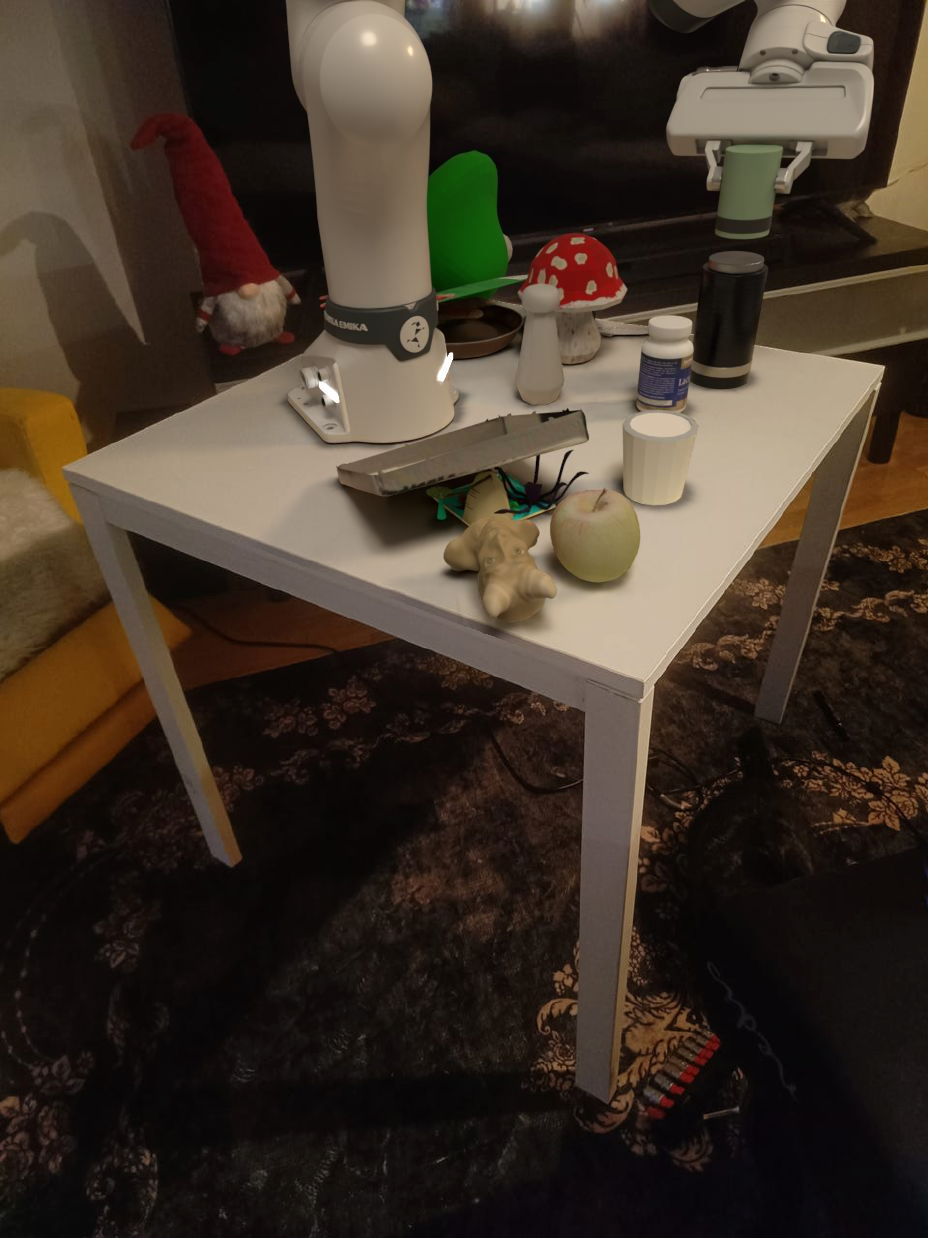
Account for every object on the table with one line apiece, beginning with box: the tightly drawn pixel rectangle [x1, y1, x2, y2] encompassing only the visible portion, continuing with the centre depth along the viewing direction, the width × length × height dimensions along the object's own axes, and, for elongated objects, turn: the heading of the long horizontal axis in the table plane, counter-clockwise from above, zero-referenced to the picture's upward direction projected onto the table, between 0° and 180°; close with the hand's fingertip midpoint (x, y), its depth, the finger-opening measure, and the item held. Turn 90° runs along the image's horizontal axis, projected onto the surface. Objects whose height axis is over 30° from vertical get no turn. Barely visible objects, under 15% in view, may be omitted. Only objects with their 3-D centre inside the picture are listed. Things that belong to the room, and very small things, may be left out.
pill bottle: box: [635, 314, 693, 414], centre depth 90 cm, size 6×6×10 cm
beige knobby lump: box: [442, 516, 558, 623], centre depth 63 cm, size 8×7×12 cm
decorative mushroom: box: [517, 233, 628, 365], centre depth 102 cm, size 14×14×15 cm
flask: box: [690, 250, 769, 390], centre depth 95 cm, size 7×7×14 cm
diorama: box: [425, 449, 589, 527], centre depth 75 cm, size 11×15×6 cm
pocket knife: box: [597, 326, 649, 338], centre depth 113 cm, size 14×1×2 cm
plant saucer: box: [436, 303, 524, 360], centre depth 113 cm, size 18×18×3 cm
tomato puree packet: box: [436, 274, 528, 303], centre depth 108 cm, size 15×1×20 cm
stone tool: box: [438, 297, 495, 323], centre depth 113 cm, size 14×3×15 cm
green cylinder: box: [714, 144, 783, 240], centre depth 84 cm, size 6×6×8 cm
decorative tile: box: [335, 407, 590, 497], centre depth 75 cm, size 20×3×20 cm
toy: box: [427, 150, 513, 299], centre depth 120 cm, size 26×24×15 cm
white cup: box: [622, 410, 699, 506], centre depth 76 cm, size 7×7×7 cm
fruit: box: [549, 487, 641, 583], centre depth 65 cm, size 8×7×8 cm
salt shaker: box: [515, 284, 565, 406], centre depth 93 cm, size 6×6×13 cm
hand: (747, 188), depth 83 cm, fingers closed on green cylinder, 5 cm apart
